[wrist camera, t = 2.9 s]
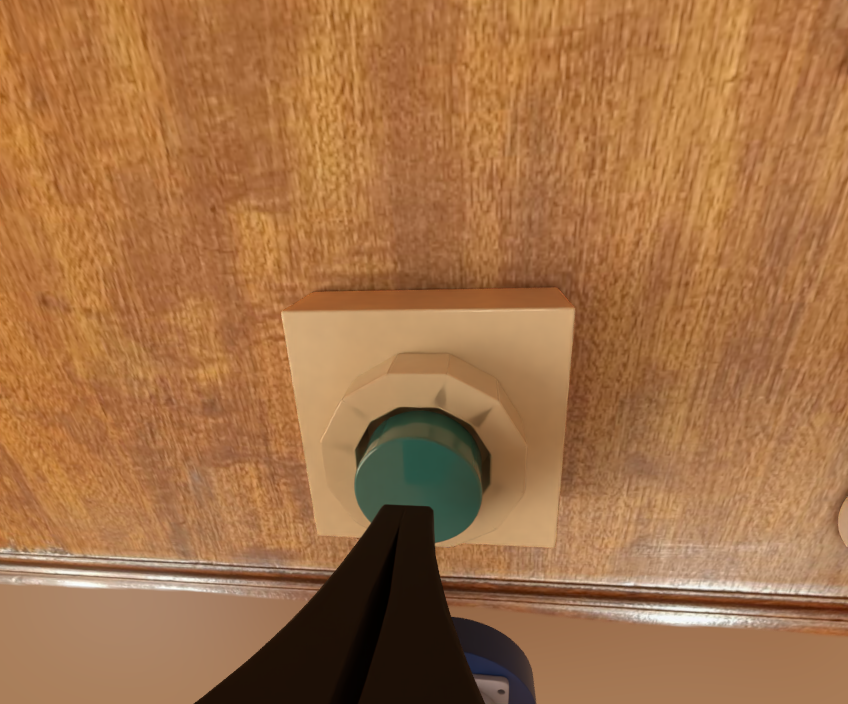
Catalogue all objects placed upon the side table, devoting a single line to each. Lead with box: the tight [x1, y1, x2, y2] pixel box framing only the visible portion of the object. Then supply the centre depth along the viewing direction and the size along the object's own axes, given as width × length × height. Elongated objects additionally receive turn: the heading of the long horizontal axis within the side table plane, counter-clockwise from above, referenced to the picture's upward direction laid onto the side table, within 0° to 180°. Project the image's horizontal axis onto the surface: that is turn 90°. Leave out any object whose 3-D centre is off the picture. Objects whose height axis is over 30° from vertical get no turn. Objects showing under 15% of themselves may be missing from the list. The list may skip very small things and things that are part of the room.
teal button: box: [354, 410, 483, 543], centre depth 14 cm, size 4×4×2 cm
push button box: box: [281, 287, 576, 548], centre depth 17 cm, size 10×10×5 cm
